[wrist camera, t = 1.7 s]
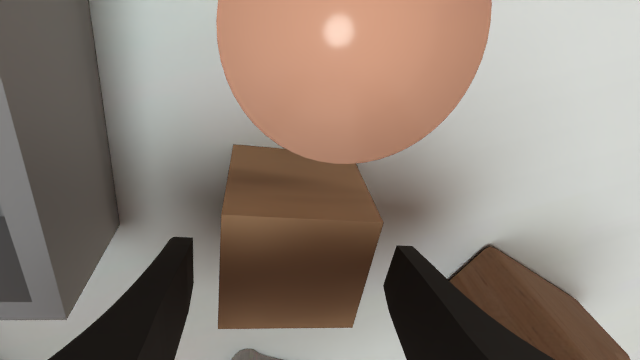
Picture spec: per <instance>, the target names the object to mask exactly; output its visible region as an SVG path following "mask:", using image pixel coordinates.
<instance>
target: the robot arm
mask: <svg viewBox="0 0 640 360" xmlns="http://www.w3.org/2000/svg"><path fill="white" fill-rule="evenodd" d="M193 283H194V281H193V238H185V237H173V238H171V239H170V240H169V242H168V243H167V244H166V246H165V247H164V248H163V250H162V251H161V252H160V254H159V255H158V256H157V257H156V259H155V260H154V261H153V262H152V263H151V265H150V266H149V267H148V268H147V269H146V270H145V272H144V273H143V274H142V275H141V276H140V277H139V278H138V279H137V281H136V282H135V283H134V284H133V285H132V286H131V287H130V288H129V289H128V290H127V291H126V292H125V293H124V294H123V295H122V296H121V297H120V298H119V299H118V300H117V301H116V302H115V303H114V304H113V305H112V306H111V307H110V308H109V309H108V310H107V311H106V312H105V313H104V314H103V315H102V316H101V317H100V318H99V319H97V320H96V321H95V322H94V323H93V324H92V325H91V326H89V327H88V328H87V329H86V330H85V331H84V332H82V333H81V334H80V335H79V336H77V337H76V338H75V339H74V340H73V341H71V342H70V343H69V344H68V345H66V346H65V347H64V348H63V349H61V350H60V351H59V352H57V353H56V354H55V355H53V356H52V357H51V358H49V359H48V360H174V359H175V355H176V352H177V349H178V345H179V342H180V339H181V335H182V332H183V328H184V325H185V322H186V318H187V315H188V311H189V306H190V300H191V295H192V289H193ZM383 286H384V291H385V296H386V301H387V305H388V309H389V313H390V315H391V318H392V321H393V324H394V327H395V329H396V332H397V335H398V337H399V340H400V343H401V345H402V348H403V351H404V354H405V356H406V359H407V360H555V359H553V358H552V357H550V356H548V355H547V354H545V353H543V352H542V351H540V350H538V349H537V348H535V347H534V346H532V345H531V344H529V343H528V342H526V341H524V340H523V339H521V338H520V337H518V336H517V335H515V334H514V333H513V332H511V331H510V330H508V329H507V328H505V327H504V326H503V325H501V324H500V323H499V322H497V321H496V320H495V319H493V318H492V317H491V316H489V315H488V314H487V313H486V312H484V311H483V310H482V309H481V308H479V307H478V306H477V305H476V304H475V303H473V302H472V301H471V300H470V299H469V298H467V297H466V296H465V295H464V294H463V293H462V292H461V291H460V290H458V289H457V288H456V287H455V286H454V285H453V284H452V283H451V282H450V281H449V280H448V279H446V278H445V277H444V276H443V275H442V274H441V273H440V272H439V271H438V270H437V269H436V268H435V267H434V266H433V265H432V264H431V263H430V262H429V261H428V260H427V259H426V258H425V257H423V256H422V255H421V254H420V253H419V252H418V251H417V250H416V249H415V248H414V247H413V246H396V249H395V252H394V255H393V258H392V261H391V264H390V267H389V270H388V273H387V276H386V279H385V282H384V285H383Z"/></svg>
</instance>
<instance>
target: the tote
mask: <svg viewBox="0 0 640 360" xmlns="http://www.w3.org/2000/svg"><path fill="white" fill-rule="evenodd" d="M119 225H120V224H119V217H118V210H117V203H116V196H115V189H114V181H113V174H112V167H111V160H110V153H109V146H108V139H107V131H106V124H105V117H104V110H103V103H102V96H101V89H100V82H99V74H98V67H97V60H96V53H95V46H94V39H93V32H92V24H91V17H90V10H89V3H88V0H0V320H67V318H68V316H69V314H70V312H71V311H72V309H73V307H74V305H75V304H76V302H77V300H78V298H79V296H80V295H81V293H82V291H83V289H84V287H85V286H86V284H87V282H88V280H89V279H90V277H91V275H92V273H93V271H94V270H95V268H96V266H97V264H98V263H99V261H100V259H101V257H102V255H103V254H104V252H105V250H106V248H107V246H108V245H109V243H110V241H111V239H112V238H113V236H114V234H115V232H116V230H117V229H118V227H119Z"/></svg>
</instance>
